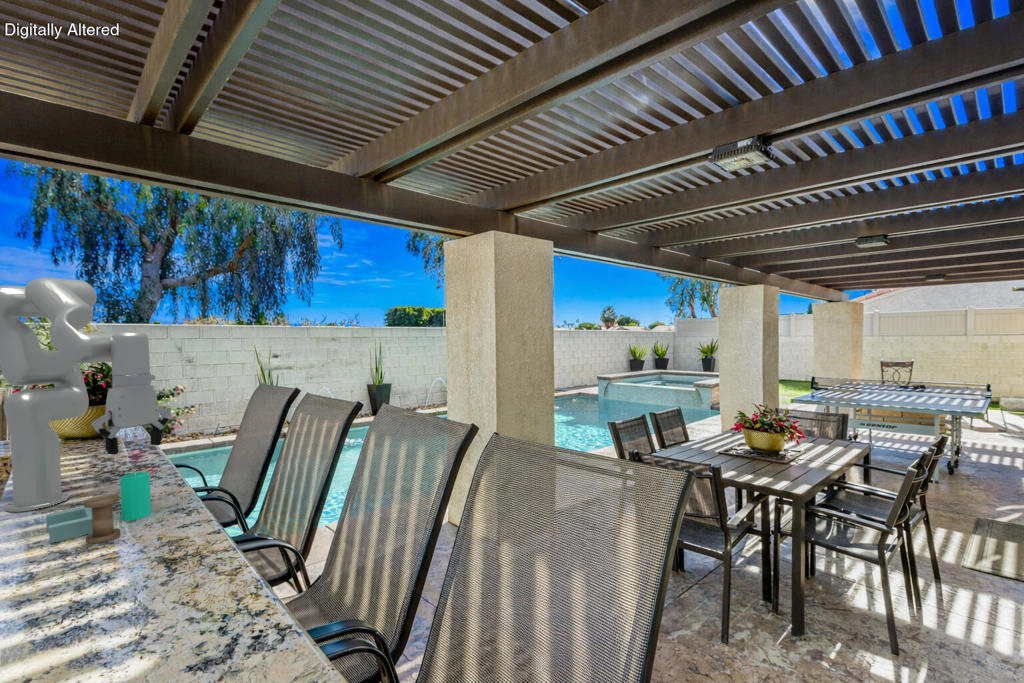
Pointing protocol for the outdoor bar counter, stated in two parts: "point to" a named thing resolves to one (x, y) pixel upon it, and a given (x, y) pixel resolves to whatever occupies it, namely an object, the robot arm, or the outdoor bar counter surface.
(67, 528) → the notch board
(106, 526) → the bobbin
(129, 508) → the candle
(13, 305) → the robot arm
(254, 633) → the outdoor bar counter surface
